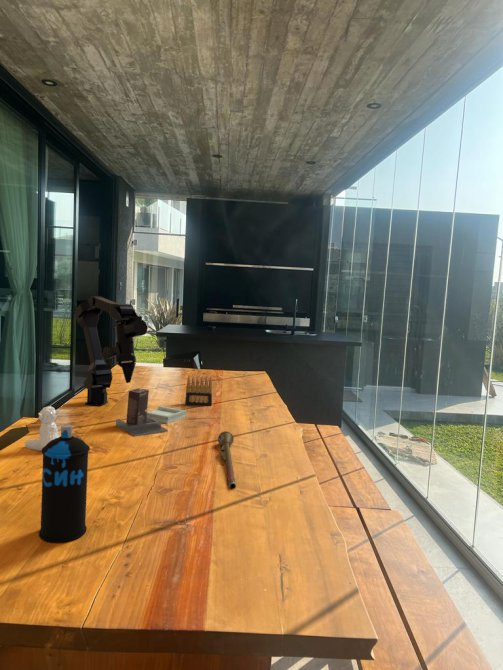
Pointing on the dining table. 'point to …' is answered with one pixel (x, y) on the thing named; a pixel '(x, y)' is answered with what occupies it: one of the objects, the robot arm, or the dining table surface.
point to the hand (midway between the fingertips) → (128, 382)
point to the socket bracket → (142, 427)
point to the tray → (167, 414)
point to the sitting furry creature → (45, 429)
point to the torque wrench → (227, 454)
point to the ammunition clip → (199, 392)
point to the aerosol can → (64, 488)
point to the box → (137, 406)
